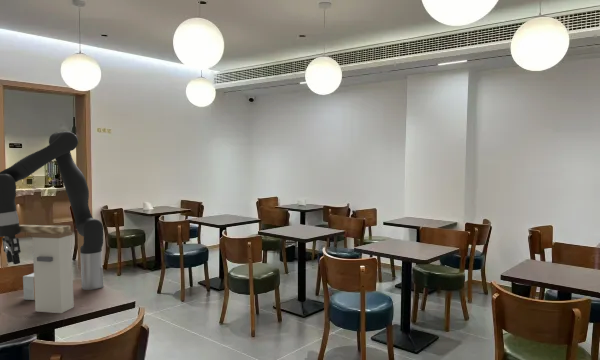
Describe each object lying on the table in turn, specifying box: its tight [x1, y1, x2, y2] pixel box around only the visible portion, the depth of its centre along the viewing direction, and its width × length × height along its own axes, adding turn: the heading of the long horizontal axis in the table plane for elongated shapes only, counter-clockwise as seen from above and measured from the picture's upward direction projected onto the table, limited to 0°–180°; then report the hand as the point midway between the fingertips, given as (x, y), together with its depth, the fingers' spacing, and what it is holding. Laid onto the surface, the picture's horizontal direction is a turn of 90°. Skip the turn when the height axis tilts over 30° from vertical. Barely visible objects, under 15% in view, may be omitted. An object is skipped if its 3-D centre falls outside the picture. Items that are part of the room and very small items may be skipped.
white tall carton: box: [30, 230, 75, 314], centre depth 176 cm, size 13×9×32 cm
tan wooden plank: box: [19, 224, 72, 234], centre depth 176 cm, size 22×5×2 cm, turn 79°
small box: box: [22, 272, 35, 301], centre depth 192 cm, size 8×6×10 cm
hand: (13, 263), depth 174 cm, fingers open, 8 cm apart
